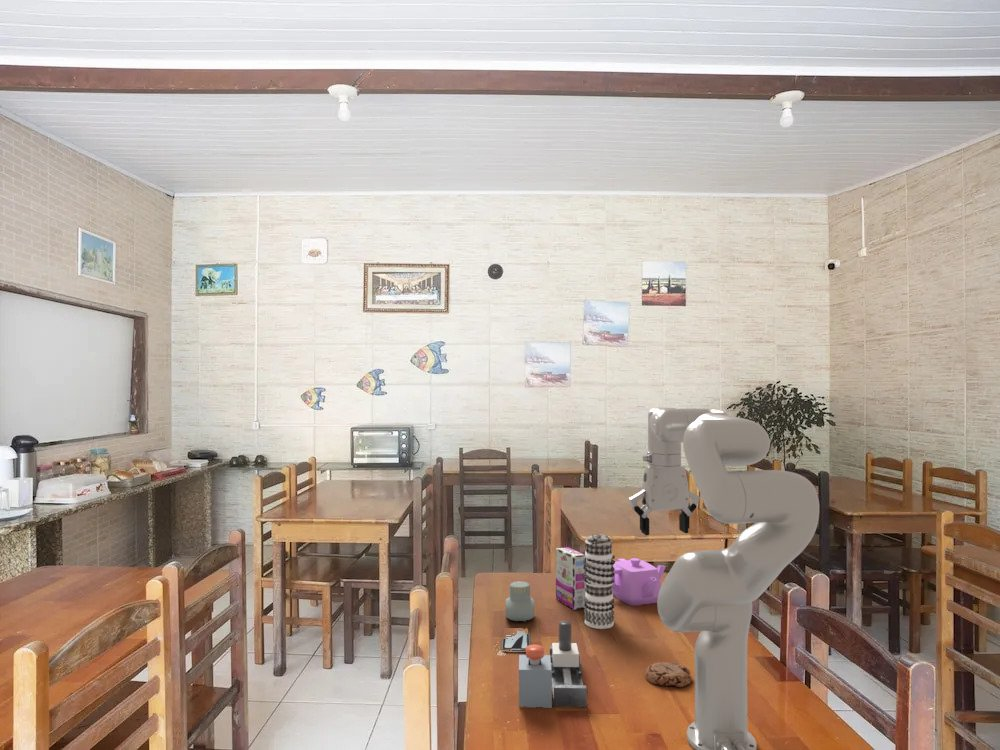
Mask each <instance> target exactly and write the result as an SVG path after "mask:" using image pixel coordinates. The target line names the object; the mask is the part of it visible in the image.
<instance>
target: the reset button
mask: <svg viewBox="0 0 1000 750" xmlns="http://www.w3.org/2000/svg"><path fill="white" fill-rule="evenodd" d="M525 655H526V657H527V658H529V659H530V665H539V659H541V658H543V657H544V655H545V648H544V646H542V645H540V644H530V645H529V646H527V647H526V653H525Z"/></svg>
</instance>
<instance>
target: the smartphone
mask: <svg viewBox="0 0 1000 750" xmlns="http://www.w3.org/2000/svg"><path fill="white" fill-rule="evenodd" d="M520 630H522V629H520ZM513 634H514V633H513ZM506 636H511V635H506ZM506 638H508V639H506ZM512 639H513V640H512ZM530 639H531V638H530V633H529V634H527V633H525V630H524V631H518V630H517V634H516V635H515V636H512V637H505V639H503V638H502V640H501V641H502V642H501V650H502V649H503V650H509V651H510V650H512V651H526V647H527V646H529V645H531V643H530Z"/></svg>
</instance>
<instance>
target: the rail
mask: <svg viewBox="0 0 1000 750" xmlns="http://www.w3.org/2000/svg"><path fill="white" fill-rule="evenodd" d="M549 655H552V646H549ZM552 661H553V659H552ZM552 663H553V662H552ZM587 690H588V689H587V685H584V683H583V676H582V671H581V672H579V671H578V667H553V672H552V699H553V700H552V702H553V707H555V706H557V707H562V708H564V707H565V708H568V707H569V708H570V707H571V708H572V707H573V708H587V706H588V705H587V704H588V701H587V700H588V699H587V696H588V695H587V692H588V691H587Z"/></svg>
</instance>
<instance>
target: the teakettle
mask: <svg viewBox="0 0 1000 750" xmlns="http://www.w3.org/2000/svg"><path fill="white" fill-rule="evenodd" d="M612 567H614V568H615V570H614V571H613V573H614V574H615V575H614V576H613V577H612V579H613V580H614V584H613V585H612V592H613V596H614V597H616V598H617V599H618V598H619V599H618V600H620V601H621V600H622V601H621V602H623V603H625V604H626V603H627V605H628V604H629V606H631V605H636V606H642V604H645V605H651V603H652V604H657V599H658V593H659V590H660V587H661V585H662V583H661V579H662V577H663V575H664V572H665V569H666V566H665V565H662V564H658V565H657V567H655V566H654V565H652V564H651V563H649V562H647V561H645V560H642V559H640V558H637V557H636V558H635V557H632V558H630V559H625V558H617V561H616V560H615V564H612Z"/></svg>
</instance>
